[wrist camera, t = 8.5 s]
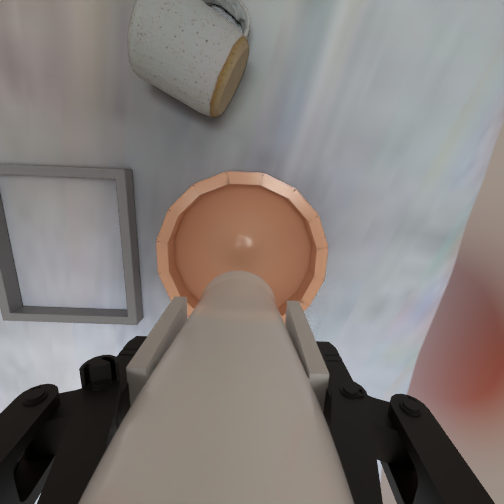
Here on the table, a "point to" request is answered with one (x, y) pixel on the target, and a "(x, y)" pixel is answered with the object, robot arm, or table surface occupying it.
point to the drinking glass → (224, 415)
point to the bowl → (242, 238)
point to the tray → (5, 279)
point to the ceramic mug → (190, 50)
